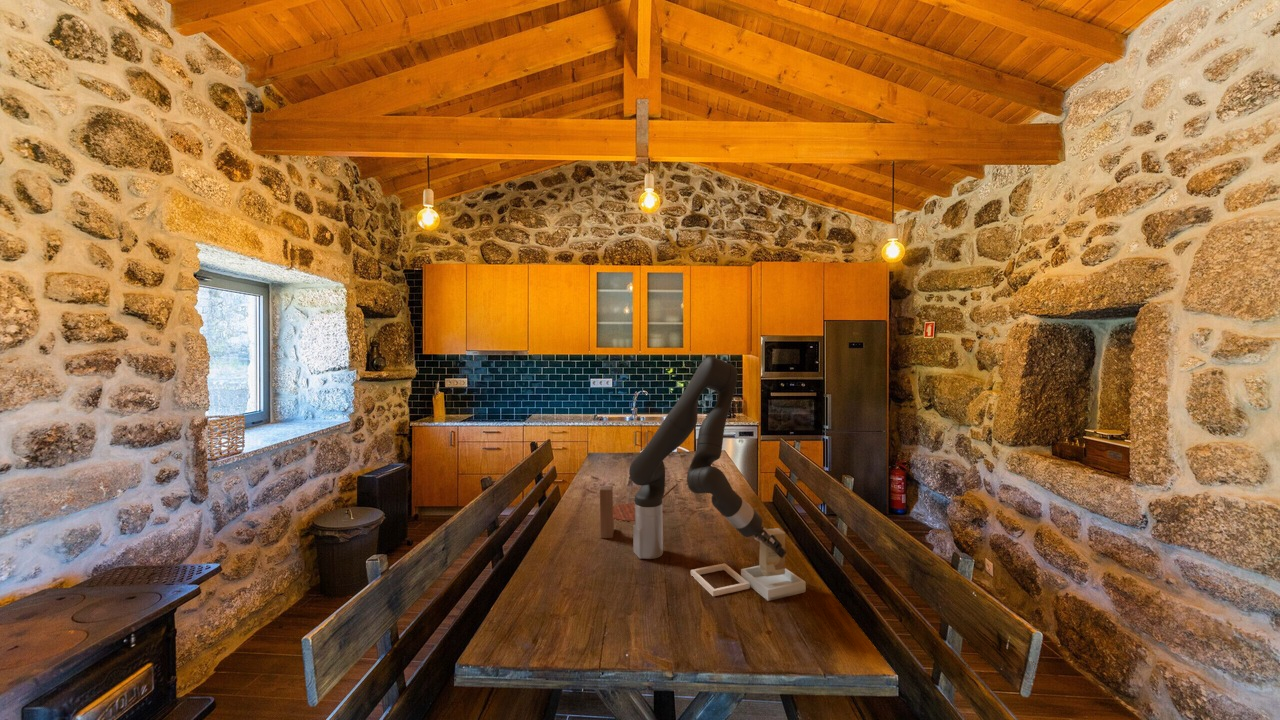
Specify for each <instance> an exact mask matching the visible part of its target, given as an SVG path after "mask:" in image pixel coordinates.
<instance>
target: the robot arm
mask: <svg viewBox="0 0 1280 720" xmlns="http://www.w3.org/2000/svg"><path fill="white" fill-rule="evenodd" d="M737 369H738V368H737V367H736V366H735V365H733V364H732V363H729V362H727V361H724V360H722V359H719V358H717V357H714V356H711V355H710V356H707V357H706V358H704V359H703V360H702V361H701V362H700V364H699V366H698V367H697V369H696V370H695V372H694V374H693V376H692V377H691V379H690V380H689V382H688V384H687V385H686V388H685V389H684V391H683V392H682V394H681V395H680V397H679V399H678V400H677V402H676V403H675V404H674V405H673V407H672V408H671V410H670V411H669V412H668V413H667V415H666V417H665V418H664V419H663V420H662V423H661V424H660V426H659V427H658V429H657V430H656V431H655V433H654V435H653V436H652V437H651V439H650V440H649V442H648V443H647V444H646V446H644V448H643V449H642V450H641V452H640V453H639V454H638V455H637V456H635V458H634V459H633V461H631V464H630V466H629V477H630V480H631V482H632V483H633V484H634V485H637V486H640V487H639V489H638V491H637V492H636V493H635V495H634V503H635V522H634V524H633V526H632V531H633V533H632V535H633V536H632V537H633V538H632V539H633V542H632V543H633V544H632V545H633V553H634V554H635V555H636V556H637V558H639V559H640V560H641V559H645V560H651V559H659V558H660V557H661V556H662V555H663V554H664V544H663V543H664V536H663V535H664V534H663V533H664V532H663V531H664V529H663V525H664V524H663V523H664V522H663V499H664V498H663V496H664V495H665V489H666V488H665V487H666V468H665V462H664V460H665V458H667V457H668V456H670V455H671V454H672V453H673V452H674V451H675V450H676V449H678V448H679V447H680V446H681V445H682V444H683V443H684V442H685V441H687V439H688V438H689V436H690V435H691V434H692V432H693V431H694V430H695V428H696V425H697V424H698V402H699V399H700V397H701V395H702V394H703V392H704V391H705V389H709V390H712V391H714V392H717V399H716V402H715V405H714V407H713V408H712V410H710V412H709V413H708V414H707V416H706V417H705V418H704V420H703V421H702V423H701V424H700V427H699V430H698V433H697V434H698V435H697V443H696V450H695V453H694V455H693V456H692V460H691V462H690V463H689V464H690V465H689V468H688V471H687V475H686V483H687V486H688V488H689V490H690V491H691V492H692V493H694V494H696V495H697V494H698V495H699V494H702V495H703V494H711V504H712V506H714V508H715V510H717V511H718V512H719V513H720V514H721V515H723V517H724V518H725V519H726V520H727V522H728V523H729V524H730V525H731V526H732V527H734V529H736V530H737V532H739V533H740V534H741V535H742V536H743V537H745V538H750V537H752V538H754V540H755V541H756V542H759V543H760V542H761V543H763V544H764V545H765V546H767V547H770V548H771V549H772V550H773V551H774V552H775V553H776V554H777V555H778V556H779V557H781V558H783V557H784V555H785V556H786V555H787V551H786V549H785V550H784V549H783V548H782V545H781V543H780V542H779V541H778V540H777V539H776V538H775V537H774V535H771V534H770V533H769V532H768V530H767V529H768V528H766V526H763V517H762V516H761V515H760V514H759V512H758V511H756V510H755V509H754V508H753V506H751V504H750V503H748V502H747V501H746V500H745V499H743V498H742V497H741V496H740V495H739V494H738V493H737V492H736V491H735V490H734V489H733V488H732V486H731V484H730V482H729V480H728V478H727V477H726V474H725V473H724V472H723V471H722V470H721V469H719V468H718V467H716V466H712V464H713V463H714V462H716V461H718V460H719V459H720V458H721V456H722V451H723V444H724V443H723V442H724V435H725V429H726V423H727V420H728V416H729V412H730V408H731V405H732V401H733V398H734V395H735V390H736V387H737V383H738V370H737ZM662 498H663V499H662ZM765 541H767V542H766V543H765Z"/></svg>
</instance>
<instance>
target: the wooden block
mask: <svg viewBox="0 0 1280 720" xmlns="http://www.w3.org/2000/svg"><path fill="white" fill-rule="evenodd" d="M613 491H614V489H613V486H611V485H610V486H609V485H607V486H606V485H605V486H600V488H599V519H600V520H599V521H600V522H599V525H600V531H599V532H600V535H599V536H600V539H613V538H614V533H615V532H614V531H615V523H614V520H615V519H614V518H613V507H614V500H613V499H614V497H613V496H614V494H613V493H614V492H613Z"/></svg>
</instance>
